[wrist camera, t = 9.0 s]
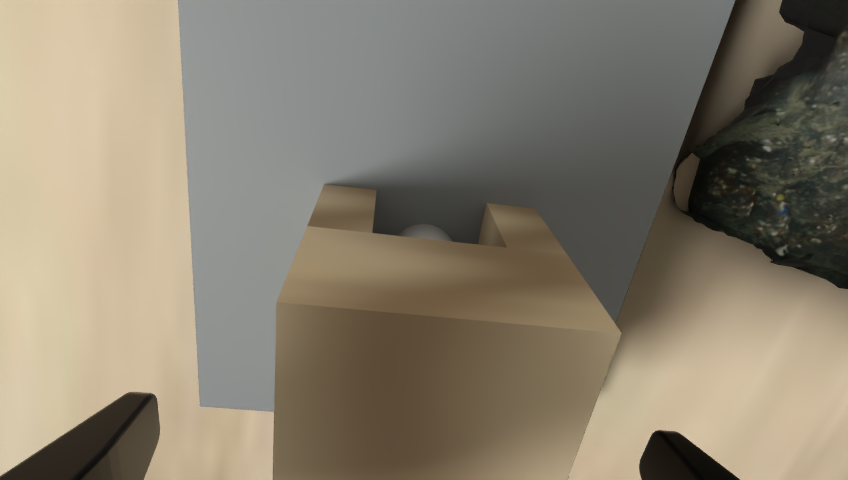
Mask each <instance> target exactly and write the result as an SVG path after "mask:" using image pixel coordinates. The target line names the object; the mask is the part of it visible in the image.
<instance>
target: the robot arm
mask: <svg viewBox="0 0 848 480" xmlns="http://www.w3.org/2000/svg"><path fill="white" fill-rule="evenodd" d="M159 435H160V423H159V413H158V404H157V398H156V396H155V395H154V394H152V393H141V392H129V393H127V394H125V395H123V396H122V397H120V398H119V399H117V400H115V401H114V402H112V403H111V404H109V405H108V406H106V407H105V408H103V409H102V410H100V411H99V412H97V413H96V414H94V415H93V416H91V417H90V418H88V419H87V420H85V421H84V422H82V423H80V424H79V425H77V426H76V427H74V428H73V429H71V430H70V431H68V432H67V433H65V434H64V435H62V436H61V437H59V438H58V439H56V440H55V441H53V442H52V443H50V444H49V445H47V446H45V447H44V448H42V449H41V450H39V451H38V452H36V453H35V454H33V455H32V456H30V457H29V458H27V459H26V460H24V461H23V462H21V463H20V464H18V465H17V466H15V467H14V468H12V469H10V470H9V471H7V472H6V473H4V474H3V475H1V476H0V480H144V477H145V475H146V472H147V470H148V467H149V464H150V462H151V459H152V457H153V454H154V451H155V449H156V446H157V443H158V440H159ZM639 470H640V475H641V479H642V480H740V479H739V478H737V477H736V476H735V475H733V474H732V473H731V472H729V471H728V470H727V469H726V468H724V467H723V466H722V465H720V464H719V463H718V462H716V461H715V460H714V459H713V458H711V457H710V456H709V455H707V454H706V453H705V452H703V451H702V450H701V449H700V448H698V447H697V446H696V445H694V444H693V443H692V442H690V441H689V440H688V439H686V438H685V437H684V436H683V435H681V434H680V433H678V432H675V431H663V430H658V431H655V432H654V433H653V434H652V435H651V437H650V439H649V442H648V444H647V446H646V448H645V450H644V453H643V455H642V457H641V459H640V464H639Z"/></svg>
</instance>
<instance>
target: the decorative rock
mask: <svg viewBox="0 0 848 480" xmlns="http://www.w3.org/2000/svg"><path fill="white" fill-rule="evenodd" d="M779 13H780V14H781V16H782V18H783V19H784V21H785V22H786V23H789V24H791V25H794V26H796V27H797V28H799V29H801V30H803V31H804V36H803V43H802V45H801V47H800V48H799V50H798V52H797V53H796V55H795V57H794V58H793V60H792V61H790V62H788V63H786V64H785V65H783V66H781V67H780V68H779V69H778V70H777V72H776V73H775V74H774V75H773V76H768V77H764V78H760V79H755V81H754V84H753V87H752V89H751V92H750V95H749V97H748V98H747V99H746V100H745V108H744V111H743V112H742V113H741V114H740V115H739V116H738V117H737V118H736V119H735V120H734V121H733V122H732V123H731V124H730V125H729V126H728V127H726V128H725V129H723V130H721V131H720V132H718V134H716V135H715V136H713V137H711V138H710V139H709V140H708V141H707V143H706V144H705V145H702V146H697V147H696V148H695V150H694V151H693V152H691V153H693V154H694V155H696V156H697V157H698V158H699V159H700V160H699V165H698V169H697V172H696V176H695V179H694V182H693V186H692V189H691V192H690V196H689V200H688V207H689V211H682V210H680V209H679V208H678V209H679V210H680V211H681V212H682V213H684V214H685V215H687V216H690V217H692V218H693V219H694V220H695V222H698V223H702V224H704V225H705V226H706V227H708V228H710V229H712V230H715V231H721V232H724V233H725V234H727V235H728V236H732V237H736V238H739V239H741V240H743V241H746V242H748V243H751V244H754V245H755V247H756V248H758V249H762V250H763V252H764V253H765V255H767V256H768V257H770V258H771V259H772V260H773V261H771V263H775V264H778V265H784V266H791V267H794V268H797V269H799V270H802V271H805V272H808V273H810V274H813V275H816V276H819V277H821V278H824V279H826V280H828V281H830V282H831V283H833V284H834V285H836V286H837V287H838V288H843V289H848V0H782V4H781V7H780V11H779ZM691 153H690V154H691ZM690 154H688V155H687V156H686V157H684V158H683V159H682V160H681V161H680V162H679V164H678V167H679V165H680V164H681V163H682V162H683V161H684V160H685V159H686V158H688V156H689V155H690ZM678 167H677V168H678ZM676 170H677V169H676ZM675 178H676V171H675V175H674V182H675ZM673 189H674V186H673ZM673 194H674V192H673ZM674 202H675V198H674Z"/></svg>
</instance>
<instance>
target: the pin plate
mask: <svg viewBox="0 0 848 480" xmlns="http://www.w3.org/2000/svg"><path fill="white" fill-rule="evenodd" d="M734 3H735V0H178V8H179V27H180V45H181V63H182V82H183V100H184V119H185V137H186V156H187V174H188V193H189V211H190V230H191V248H192V267H193V285H194V304H195V322H196V341H197V359H198V377H199V396H200V406H202V407H216V408H229V409H243V410H257V411H271V412H274V394H275V345H276V302H277V299H278V297H279V294H280V292H281V289H282V287H283V284H284V282H285V279H286V277H287V275H288V272H289V270H290V267H291V265H292V262H293V260H294V257H295V255H296V252H297V250H298V247H299V245H300V242H301V240H302V237H303V235H304V233H305V230H306V228H307V225H308V223H309V220H310V218H311V215H312V213H313V210H314V208H315V205H316V203H317V200H318V198H319V195H320V193H321V191H322V188H323V186H324V184H328V185H337V186H345V187H354V188H363V189H371V190H377V191H376V201H375V211H374V220H373V230H372V233H376V234H386V235H395V236H404V237H413V238H423V239H432V240H441V241H451V242H460V243H469V244H478V241H479V236H480V231H481V227H482V222H483V217H484V212H485V207H486V203H491V204H499V205H508V206H516V207H525V208H534V209H536V210H537V212H538V213H539V215H540V216H541V218H542V219H543V220H544V222H545V223H546V225H547V226H548V228H549V229H550V231H551V232H552V233H553V235H554V236H555V238H556V239H557V241H558V242H559V244H560V245H561V246H562V248H563V249H564V251H565V252H566V254H567V255H568V256H569V258H570V259H571V261H572V262H573V264H574V265H575V267H576V268H577V269H578V271H579V272H580V274H581V275H582V277H583V278H584V280H585V281H586V282H587V284H588V285H589V287H590V288H591V290H592V291H593V292H594V294H595V295H596V297H597V298H598V300H599V301H600V303H601V304H602V305H603V307H604V308H605V310H606V311H607V313H608V314H609V316H610V317H611V318H612V320H613V321H614V323H616V320H617V318H618V315H619V312H620V310H621V307H622V304H623V302H624V299H625V296H626V293H627V291H628V288H629V285H630V283H631V280H632V277H633V275H634V272H635V269H636V267H637V264H638V261H639V258H640V256H641V253H642V250H643V248H644V245H645V242H646V240H647V237H648V234H649V232H650V229H651V226H652V223H653V221H654V218H655V215H656V213H657V210H658V207H659V205H660V202H661V199H662V197H663V194H664V191H665V188H666V186H667V183H668V180H669V178H670V175H671V172H672V170H673V167H674V164H675V162H676V159H677V156H678V153H679V151H680V148H681V145H682V143H683V140H684V137H685V135H686V132H687V129H688V127H689V124H690V121H691V118H692V116H693V113H694V110H695V108H696V105H697V102H698V100H699V97H700V94H701V92H702V89H703V86H704V83H705V81H706V78H707V75H708V73H709V70H710V67H711V65H712V62H713V59H714V57H715V54H716V51H717V48H718V46H719V43H720V40H721V38H722V35H723V32H724V30H725V27H726V24H727V22H728V19H729V16H730V14H731V11H732V8H733V5H734Z"/></svg>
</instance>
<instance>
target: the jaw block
mask: <svg viewBox="0 0 848 480" xmlns="http://www.w3.org/2000/svg"><path fill="white" fill-rule="evenodd" d="M376 191H377V190H371V189H363V188H354V187H345V186H337V185H328V184H324V186H323V188H322V191H321V193H320V195H319V198H318V200H317V203H316V205H315V208H314V210H313V213H312V215H311V218H310V220H309V223H308V225H307V228H306V230H305V233H304V235H303V237H302V240H301V242H300V245H299V247H298V250H297V252H296V255H295V257H294V260H293V262H292V265H291V267H290V270H289V272H288V275H287V277H286V279H285V282H284V284H283V287H282V289H281V292H280V294H279V297H278V299H277V302H276V345H275V394H274V444H273V480H567V478H568V476H569V473H570V470H571V468H572V465H573V462H574V460H575V457H576V454H577V452H578V449H579V446H580V444H581V441H582V439H583V436H584V433H585V431H586V428H587V425H588V423H589V420H590V417H591V415H592V412H593V409H594V407H595V404H596V401H597V399H598V396H599V393H600V391H601V388H602V385H603V383H604V380H605V377H606V375H607V372H608V369H609V367H610V364H611V361H612V359H613V356H614V353H615V351H616V348H617V345H618V343H619V340H620V337H621V335H622V333H621V331H620V330H619V329H618V327H617V326H616V324H615V323H614V321H613V320H612V318H611V317H610V316H609V314H608V313H607V311H606V310H605V308H604V307H603V305H602V304H601V303H600V301H599V300H598V298H597V297H596V295H595V294H594V292H593V291H592V290H591V288H590V287H589V285H588V284H587V282H586V281H585V280H584V278H583V277H582V275H581V274H580V272H579V271H578V269H577V268H576V267H575V265H574V264H573V262H572V261H571V259H570V258H569V256H568V255H567V254H566V252H565V251H564V249H563V248H562V246H561V245H560V244H559V242H558V241H557V239H556V238H555V236H554V235H553V233H552V232H551V231H550V229H549V228H548V226H547V225H546V223H545V222H544V220H543V219H542V218H541V216H540V215H539V213H538V212H537V210H536V209H534V208H525V207H516V206H508V205H499V204H491V203H486V207H485V212H484V217H483V222H482V227H481V231H480V236H479V241H478V244H469V243H460V242H451V241H441V240H432V239H423V238H413V237H404V236H395V235H386V234H376V233H372V230H373V220H374V211H375V201H376Z"/></svg>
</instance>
